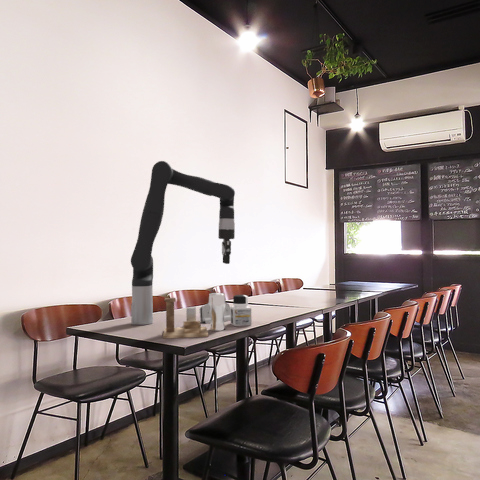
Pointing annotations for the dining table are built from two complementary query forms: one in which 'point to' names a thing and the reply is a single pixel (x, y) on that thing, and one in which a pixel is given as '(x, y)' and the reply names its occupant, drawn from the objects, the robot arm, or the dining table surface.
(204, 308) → the card swipe reader
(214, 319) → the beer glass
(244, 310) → the container
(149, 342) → the dining table surface
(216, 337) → the dining table surface
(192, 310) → the brushed grey block
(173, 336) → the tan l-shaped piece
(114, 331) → the dining table surface
